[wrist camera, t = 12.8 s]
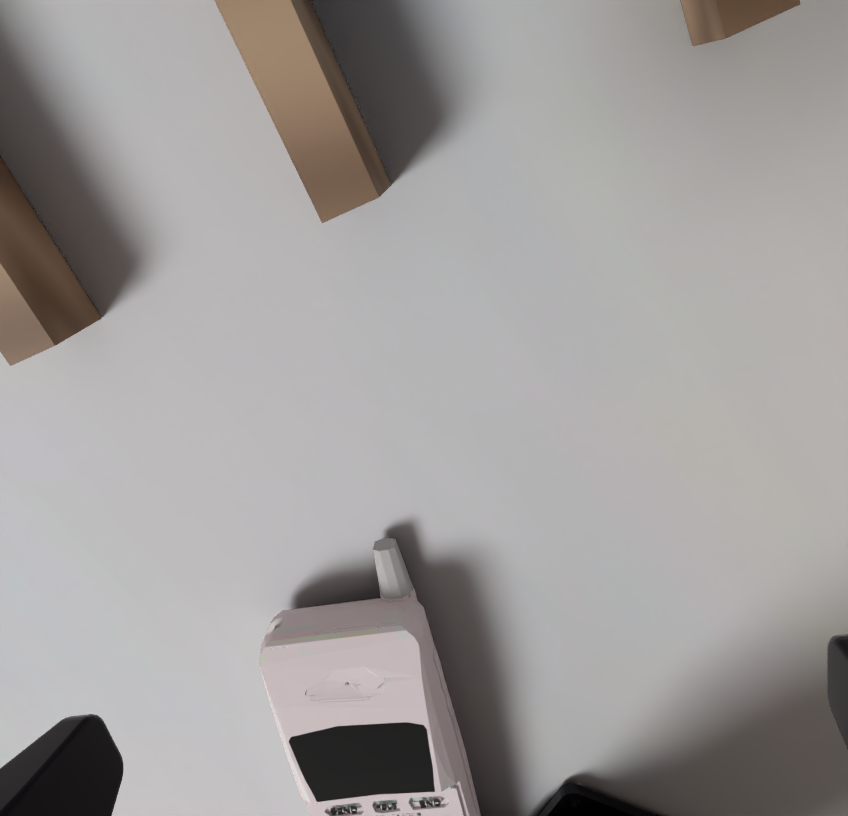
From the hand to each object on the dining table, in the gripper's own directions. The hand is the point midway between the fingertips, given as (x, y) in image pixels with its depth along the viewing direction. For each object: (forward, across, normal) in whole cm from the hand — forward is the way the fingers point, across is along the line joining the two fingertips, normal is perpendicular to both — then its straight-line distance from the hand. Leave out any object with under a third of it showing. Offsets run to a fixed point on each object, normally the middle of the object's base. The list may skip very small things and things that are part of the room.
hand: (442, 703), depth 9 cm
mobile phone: (+14, +6, +18) cm, 23 cm away
